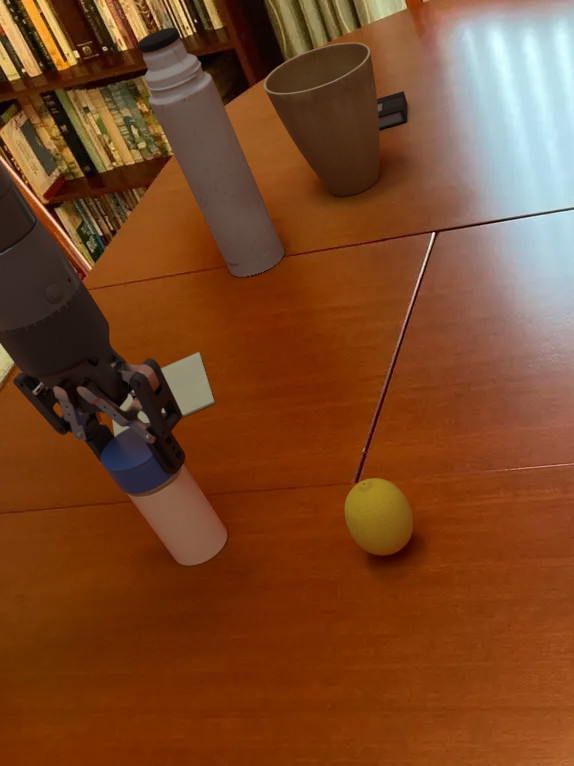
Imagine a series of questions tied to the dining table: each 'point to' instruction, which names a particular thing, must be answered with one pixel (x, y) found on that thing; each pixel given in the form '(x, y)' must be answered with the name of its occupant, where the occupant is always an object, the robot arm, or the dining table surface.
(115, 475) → the lid
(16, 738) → the dining table surface
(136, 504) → the jar
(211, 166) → the thermos bottle
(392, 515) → the lemon
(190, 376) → the mat
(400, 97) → the vhs tape
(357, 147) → the plant pot
